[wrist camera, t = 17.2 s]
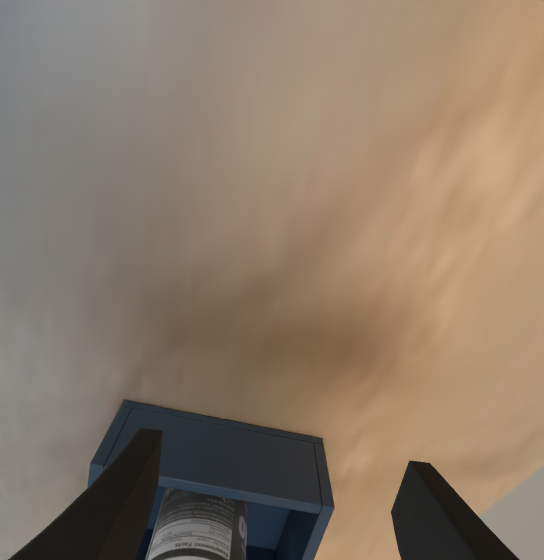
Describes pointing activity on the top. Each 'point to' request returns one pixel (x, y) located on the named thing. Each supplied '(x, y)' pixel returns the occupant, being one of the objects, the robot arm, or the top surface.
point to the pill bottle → (199, 527)
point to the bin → (235, 475)
